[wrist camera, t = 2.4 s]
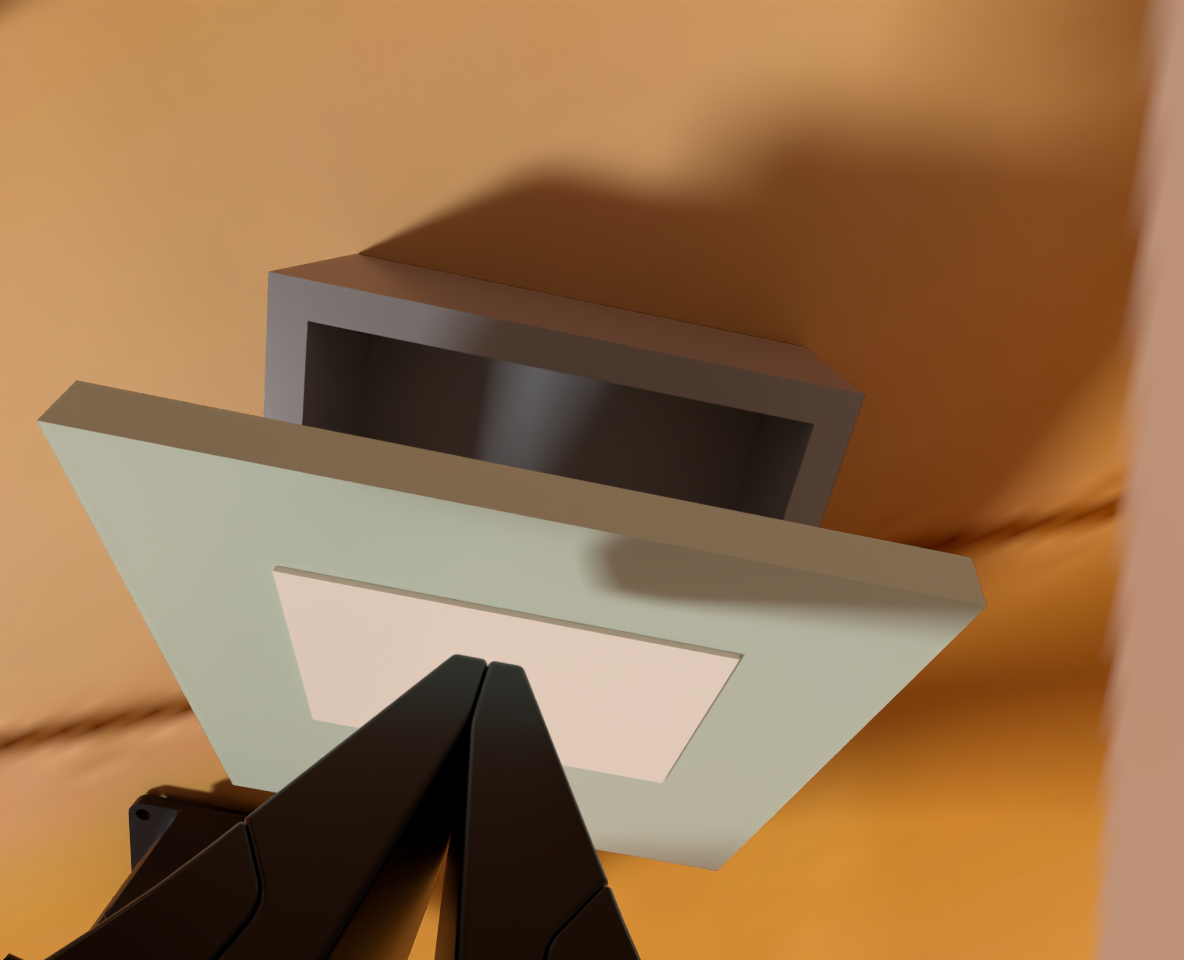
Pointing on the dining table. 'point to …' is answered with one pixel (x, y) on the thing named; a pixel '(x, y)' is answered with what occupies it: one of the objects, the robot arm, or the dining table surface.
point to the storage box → (556, 386)
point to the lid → (502, 609)
